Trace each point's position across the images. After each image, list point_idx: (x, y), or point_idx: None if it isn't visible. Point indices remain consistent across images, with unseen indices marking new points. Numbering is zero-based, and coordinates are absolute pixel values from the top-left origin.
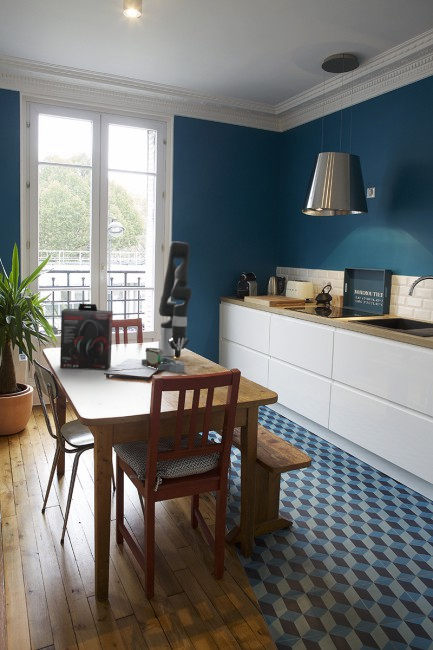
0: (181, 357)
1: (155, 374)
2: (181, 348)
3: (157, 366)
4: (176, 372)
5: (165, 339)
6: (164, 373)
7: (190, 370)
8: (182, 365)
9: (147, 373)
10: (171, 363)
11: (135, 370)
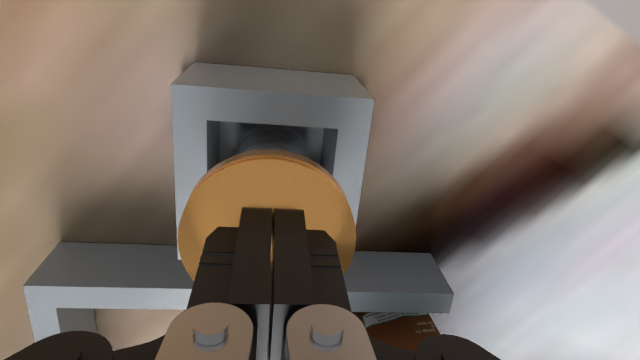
0: (207, 181)
1: (616, 133)
2: (165, 352)
3: (421, 315)
4: (339, 75)
5: None
6: (495, 121)
7: (48, 82)
8: (230, 85)
9: (633, 209)
10: None
11: (601, 344)
